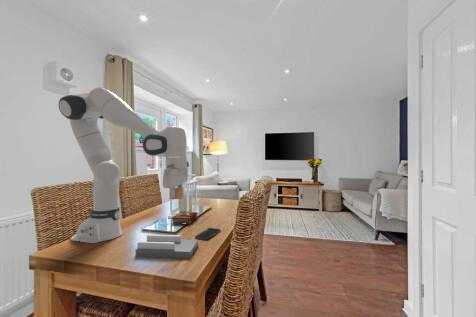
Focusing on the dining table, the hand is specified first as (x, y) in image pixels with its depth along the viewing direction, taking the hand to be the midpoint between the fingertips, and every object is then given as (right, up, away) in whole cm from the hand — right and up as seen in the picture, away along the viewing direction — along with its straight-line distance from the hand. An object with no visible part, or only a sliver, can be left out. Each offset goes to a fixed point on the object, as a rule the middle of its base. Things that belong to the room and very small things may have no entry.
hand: (176, 195), depth 91 cm
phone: (+11, -25, +19) cm, 33 cm away
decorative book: (-7, -24, +42) cm, 49 cm away
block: (0, -1, 0) cm, 1 cm away
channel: (-3, -24, 0) cm, 24 cm away
